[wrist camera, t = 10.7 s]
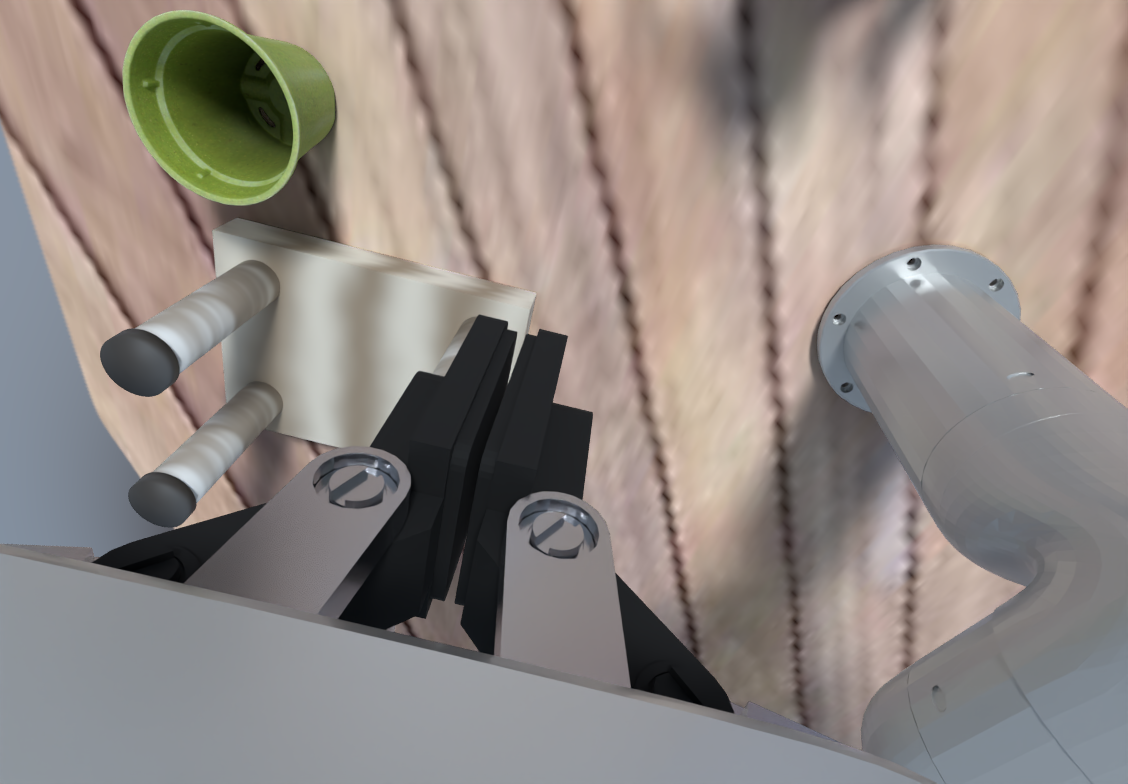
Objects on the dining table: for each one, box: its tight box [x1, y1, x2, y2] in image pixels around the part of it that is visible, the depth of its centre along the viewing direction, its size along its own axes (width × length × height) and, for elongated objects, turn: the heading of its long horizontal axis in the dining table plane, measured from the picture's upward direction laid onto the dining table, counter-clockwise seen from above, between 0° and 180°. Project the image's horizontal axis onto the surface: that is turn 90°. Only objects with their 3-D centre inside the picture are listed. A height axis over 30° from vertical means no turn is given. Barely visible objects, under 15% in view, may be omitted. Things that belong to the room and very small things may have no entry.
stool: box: [100, 218, 536, 527], centre depth 43 cm, size 22×16×16 cm
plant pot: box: [123, 10, 335, 206], centre depth 37 cm, size 9×9×9 cm
